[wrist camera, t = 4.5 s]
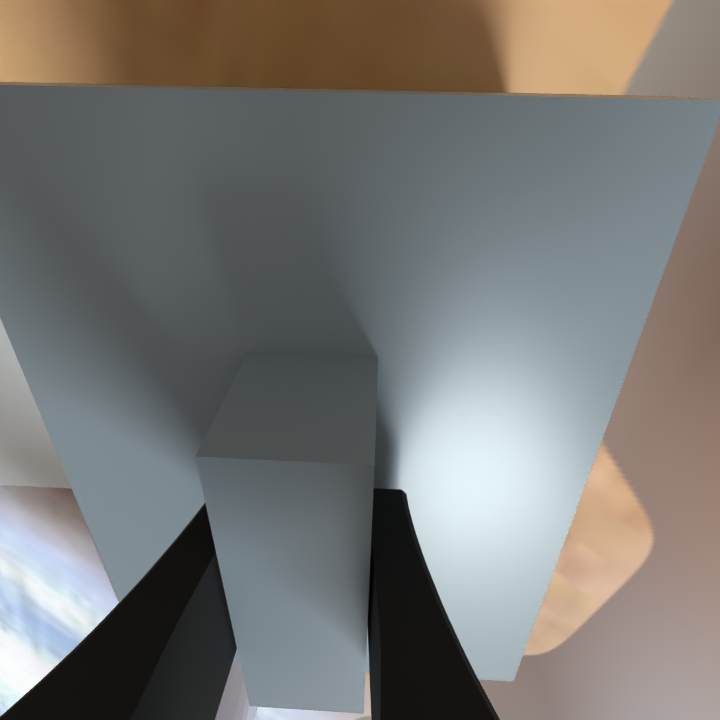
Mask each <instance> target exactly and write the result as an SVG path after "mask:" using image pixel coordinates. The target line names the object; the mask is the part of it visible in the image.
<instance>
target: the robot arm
mask: <svg viewBox="0 0 720 720" xmlns="http://www.w3.org/2000/svg"><path fill="white" fill-rule="evenodd" d="M367 627H368V650H369V671H370V693H371V715H372V720H500V719H499V717H498V715H497V714H496V712H495V710H494V708H493V706H492V704H491V702H490V701H489V699H488V697H487V695H486V693H485V691H484V689H483V688H482V686H481V684H480V682H479V680H478V678H477V676H476V674H475V672H474V670H473V668H472V666H471V664H470V662H469V660H468V658H467V656H466V654H465V652H464V650H463V648H462V646H461V644H460V641H459V639H458V637H457V635H456V633H455V631H454V628H453V626H452V624H451V622H450V620H449V618H448V615H447V613H446V611H445V608H444V606H443V604H442V601H441V599H440V597H439V594H438V592H437V589H436V587H435V584H434V582H433V579H432V577H431V574H430V572H429V569H428V567H427V564H426V561H425V559H424V556H423V553H422V550H421V547H420V544H419V541H418V538H417V535H416V532H415V528H414V525H413V522H412V518H411V514H410V510H409V505H408V500H407V494H406V493H405V492H404V491H403V490H402V489H382V488H374V489H373V512H372V534H371V556H370V578H369V601H368V623H367ZM236 650H237V646H236V642H235V637H234V632H233V628H232V623H231V619H230V614H229V609H228V605H227V600H226V596H225V591H224V586H223V582H222V577H221V573H220V568H219V563H218V559H217V554H216V549H215V545H214V540H213V536H212V531H211V526H210V522H209V517H208V513H207V508H206V503H204V505H203V506H202V507H201V509H200V510H199V511H198V512H197V514H196V515H195V516H194V517H193V519H192V520H191V521H190V522H189V524H188V525H187V526H186V527H185V529H184V530H183V531H182V532H181V533H180V535H179V536H178V537H177V538H176V540H175V541H174V542H173V543H172V544H171V545H170V547H169V548H168V549H167V550H166V551H165V552H164V554H163V555H162V556H161V557H160V558H159V559H158V561H157V562H156V563H155V564H154V565H153V566H152V568H151V569H150V570H149V571H148V572H147V573H146V574H145V576H144V577H143V578H142V579H141V580H140V581H139V582H138V583H137V584H136V585H135V586H134V588H133V589H132V590H131V591H130V592H129V593H128V594H127V595H126V596H125V597H124V598H123V599H122V600H121V601H120V603H119V604H118V605H117V606H116V607H115V608H114V609H113V610H112V611H111V612H110V613H109V614H108V615H107V616H106V618H105V619H104V620H103V621H102V622H101V623H100V624H99V625H98V626H97V627H96V628H95V629H94V630H93V631H92V632H91V633H90V634H89V635H88V636H87V637H86V638H85V639H84V640H83V641H82V642H81V643H80V644H79V645H78V646H77V647H76V648H75V649H74V650H73V651H72V652H71V653H70V654H68V655H67V656H66V657H65V658H64V659H63V660H62V661H61V662H60V663H59V664H58V665H57V666H56V667H55V668H54V669H53V670H52V671H51V672H49V673H48V674H47V675H46V676H45V677H44V678H43V679H42V680H41V681H40V682H39V683H38V684H36V685H35V686H34V687H33V688H32V689H31V690H30V691H29V692H28V693H26V694H25V695H24V696H23V697H22V698H21V699H20V700H19V701H17V702H16V703H15V704H14V705H13V706H12V707H11V708H10V709H8V710H7V711H6V712H5V713H4V714H3V715H2V716H1V717H0V720H255V716H256V711H257V706H249V701H248V697H247V692H246V688H245V683H244V678H243V674H242V669H241V665H240V664H232V663H233V660H234V657H235V653H236Z"/></svg>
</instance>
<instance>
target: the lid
mask: <svg viewBox="0 0 720 720" xmlns="http://www.w3.org/2000/svg"><path fill="white" fill-rule="evenodd" d="M719 119H720V100H713V99H700V98H687V97H674V96H633V95H632V96H630V95H586V94H539V93H492V92H445V91H399V90H352V89H305V88H258V87H211V86H165V85H118V84H71V83H24V82H0V318H1V321H2V323H3V326H4V328H5V330H6V333H7V335H8V338H9V340H10V342H11V345H12V347H13V350H14V352H15V354H16V357H17V359H18V362H19V364H20V366H21V369H22V371H23V374H24V376H25V378H26V381H27V383H28V386H29V388H30V390H31V393H32V395H33V398H34V400H35V402H36V405H37V407H38V410H39V412H40V414H41V417H42V419H43V422H44V424H45V426H46V429H47V431H48V434H49V436H50V438H51V441H52V443H53V445H54V448H55V450H56V453H57V455H58V457H59V460H60V462H61V465H62V467H63V469H64V472H65V474H66V477H67V479H68V481H69V484H70V486H71V489H72V491H73V493H74V496H75V498H76V501H77V503H78V505H79V508H80V510H81V513H82V515H83V517H84V520H85V522H86V525H87V527H88V529H89V532H90V534H91V537H92V539H93V541H94V544H95V546H96V549H97V551H98V553H99V556H100V558H101V561H102V563H103V565H104V568H105V570H106V572H107V575H108V577H109V580H110V582H111V584H112V587H113V589H114V592H115V594H116V596H117V599H118V601H119V603H120V601H121V600H122V599H123V598H124V597H125V596H126V595H127V594H128V593H129V592H130V591H131V590H132V589H133V588H134V586H135V585H136V584H137V583H138V582H139V581H140V580H141V579H142V578H143V577H144V576H145V574H146V573H147V572H148V571H149V570H150V569H151V568H152V566H153V565H154V564H155V563H156V562H157V561H158V559H159V558H160V557H161V556H162V555H163V554H164V552H165V551H166V550H167V549H168V548H169V547H170V545H171V544H172V543H173V542H174V541H175V540H176V538H177V537H178V536H179V535H180V533H181V532H182V531H183V530H184V529H185V527H186V526H187V525H188V524H189V522H190V521H191V520H192V519H193V517H194V516H195V515H196V514H197V512H198V511H199V510H200V509H201V507H202V506H203V505H204V503H206V508H207V513H208V517H209V522H210V526H211V531H212V536H213V540H214V545H215V549H216V554H217V559H218V563H219V568H220V573H221V577H222V582H223V586H224V591H225V596H226V600H227V605H228V609H229V614H230V619H231V623H232V628H233V632H234V637H235V642H236V646H237V650H236V653H235V657H234V660H233V663H232V664H240V665H241V669H242V674H243V678H244V683H245V688H246V692H247V697H248V701H249V706H257V707H272V708H287V709H302V710H318V711H333V712H348V713H363V712H364V690H365V672H370V671H369V650H368V627H367V623H368V601H369V578H370V556H371V534H372V512H373V489H374V488H382V489H402V490H403V491H404V492H405V493H406V494H407V500H408V505H409V510H410V514H411V518H412V522H413V525H414V528H415V532H416V535H417V538H418V541H419V544H420V547H421V550H422V553H423V556H424V559H425V561H426V564H427V567H428V569H429V572H430V574H431V577H432V579H433V582H434V584H435V587H436V589H437V592H438V594H439V597H440V599H441V601H442V604H443V606H444V608H445V611H446V613H447V615H448V618H449V620H450V622H451V624H452V626H453V628H454V631H455V633H456V635H457V637H458V639H459V641H460V644H461V646H462V648H463V650H464V652H465V654H466V656H467V658H468V660H469V662H470V664H471V666H472V668H473V670H474V672H475V674H476V676H477V678H478V679H485V680H500V681H501V680H502V681H514V678H515V675H516V672H517V670H518V667H519V664H520V662H521V659H522V656H523V653H524V651H525V648H526V645H527V643H528V640H529V637H530V634H531V632H532V629H533V626H534V624H535V621H536V618H537V615H538V613H539V610H540V607H541V604H542V602H543V599H544V596H545V594H546V591H547V588H548V585H549V583H550V580H551V577H552V575H553V572H554V569H555V566H556V564H557V561H558V558H559V555H560V553H561V550H562V547H563V545H564V542H565V539H566V536H567V534H568V531H569V528H570V525H571V523H572V520H573V517H574V515H575V512H576V509H577V506H578V504H579V501H580V498H581V496H582V493H583V490H584V487H585V485H586V482H587V479H588V476H589V474H590V471H591V468H592V466H593V463H594V460H595V457H596V455H597V452H598V449H599V446H600V444H601V441H602V438H603V436H604V433H605V430H606V427H607V425H608V422H609V419H610V417H611V414H612V411H613V408H614V406H615V403H616V400H617V397H618V394H619V392H620V389H621V387H622V384H623V381H624V378H625V376H626V373H627V370H628V367H629V365H630V362H631V359H632V357H633V354H634V351H635V348H636V346H637V343H638V340H639V338H640V335H641V332H642V329H643V327H644V324H645V321H646V318H647V316H648V313H649V310H650V308H651V305H652V302H653V299H654V296H655V294H656V291H657V289H658V286H659V283H660V280H661V278H662V275H663V272H664V269H665V267H666V264H667V261H668V258H669V255H670V253H671V250H672V247H673V245H674V242H675V239H676V237H677V234H678V231H679V229H680V226H681V223H682V220H683V218H684V215H685V212H686V210H687V207H688V204H689V201H690V199H691V196H692V193H693V190H694V188H695V185H696V182H697V179H698V177H699V174H700V171H701V168H702V166H703V163H704V160H705V158H706V155H707V152H708V150H709V147H710V144H711V141H712V139H713V136H714V133H715V130H716V128H717V125H718V122H719Z"/></svg>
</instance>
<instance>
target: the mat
mask: <svg viewBox="0 0 720 720" xmlns="http://www.w3.org/2000/svg"><path fill="white" fill-rule="evenodd" d="M0 485H9V486H29V487H48V488H68V489H71V486H70V484H69V481H68V479H67V477H66V474H65V472H64V469H63V467H62V465H61V462H60V460H59V457H58V455H57V453H56V450H55V448H54V445H53V443H52V441H51V438H50V436H49V434H48V431H47V429H46V426H45V424H44V422H43V419H42V417H41V414H40V412H39V410H38V407H37V405H36V402H35V400H34V398H33V395H32V393H31V390H30V388H29V386H28V383H27V381H26V378H25V376H24V374H23V371H22V369H21V366H20V364H19V362H18V359H17V357H16V354H15V352H14V350H13V347H12V345H11V342H10V340H9V338H8V335H7V333H6V330H5V328H4V326H3V323H2V321H1V318H0Z"/></svg>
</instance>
